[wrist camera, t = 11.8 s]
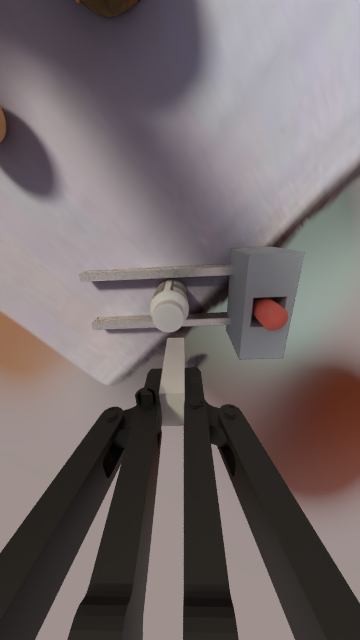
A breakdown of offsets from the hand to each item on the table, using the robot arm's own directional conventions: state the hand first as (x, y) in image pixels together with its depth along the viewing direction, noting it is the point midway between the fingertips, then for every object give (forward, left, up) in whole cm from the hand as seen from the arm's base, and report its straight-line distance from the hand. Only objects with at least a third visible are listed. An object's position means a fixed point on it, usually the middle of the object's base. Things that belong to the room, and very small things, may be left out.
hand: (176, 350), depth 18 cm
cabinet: (+11, 0, -17) cm, 20 cm away
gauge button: (+11, 0, -11) cm, 16 cm away
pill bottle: (-1, 0, -17) cm, 17 cm away
